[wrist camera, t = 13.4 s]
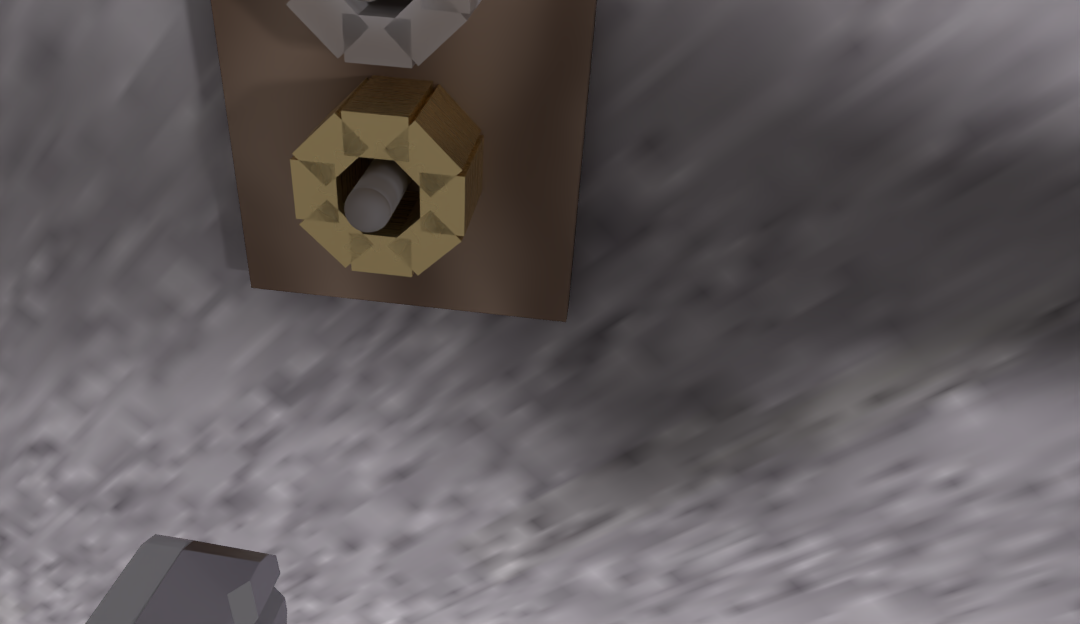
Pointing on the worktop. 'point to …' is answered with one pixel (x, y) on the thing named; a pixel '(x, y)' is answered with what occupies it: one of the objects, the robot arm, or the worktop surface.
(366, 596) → the worktop surface
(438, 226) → the octagonal hollow tube
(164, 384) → the worktop surface
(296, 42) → the gear board
